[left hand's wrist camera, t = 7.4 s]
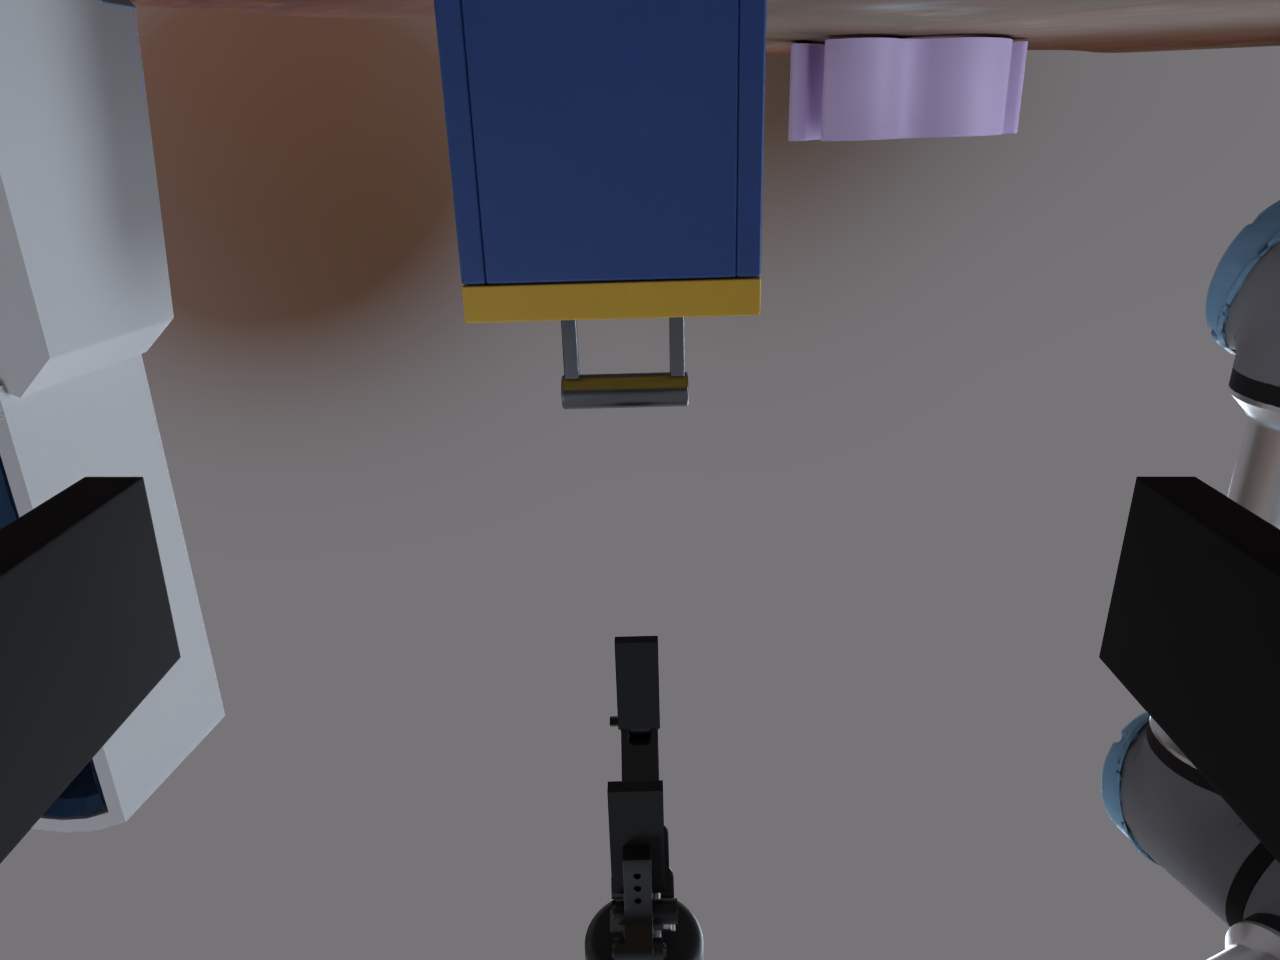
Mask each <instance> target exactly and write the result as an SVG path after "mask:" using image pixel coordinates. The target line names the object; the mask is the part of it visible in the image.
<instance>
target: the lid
mask: <svg viewBox="0 0 1280 960" xmlns="http://www.w3.org/2000/svg"><path fill="white" fill-rule="evenodd" d="M462 293H463V303H464V313H465V322H466V323H483V322H519V321H557V320H561V328H562V344H563V361H564V375H563V376H562V380H561V395H562V405H563V408H564V409H591V408H630V407H667V406H688V399H689V393H688V392H689V391H688V374H687V372H685V344H684V317H702V316H740V315H760V304H761V279H760V277H759V276H754V277H738V276H737V275H736V276H735V277H720V278H684V279H648V280H612V281H576V282H540V283H504V284H488V283H487V282H486V283H485V284H466V285H464V286H463V287H462ZM666 317H669V346H670V372H660V373H623V374H587V375H580V370H579V351H578V332H577V320H592V319H629V318H666Z"/></svg>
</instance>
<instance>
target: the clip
mask: <svg viewBox="0 0 1280 960" xmlns="http://www.w3.org/2000/svg"><path fill="white" fill-rule="evenodd" d="M1012 41H1013V40H1012V39H1009V38H996V37H962V38H934V39H899V38H844V39H828V40H825V46H818V45H810V43H799V44H792V45H791V73H790V105H789V138H788V141H806V140H818V139H821V141H852V140H879V139H896V138H923V137H959V136H984V135H1000V134H1002V133H1017V131H1018V122H1019V114H1020V105H1021V97H1022V88H1023V79H1024V71H1025V62H1026V53H1027V45H1028V42H1027V41H1022V42H1012Z"/></svg>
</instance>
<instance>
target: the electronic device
mask: <svg viewBox="0 0 1280 960" xmlns="http://www.w3.org/2000/svg"><path fill="white" fill-rule="evenodd" d="M173 318H174V316H173V308H172V300H171V292H170V283H169V275H168V267H167V259H166V251H165V243H164V235H163V227H162V219H161V211H160V202H159V194H158V186H157V178H156V170H155V162H154V154H153V146H152V138H151V130H150V122H149V113H148V105H147V98H146V89H145V81H144V73H143V65H142V57H141V49H140V41H139V33H138V24H137V16H136V9H135V6H134V5H133V4H132V3H131V2H130V1H129V0H0V529H2V528H3V527H5V526H7V525H8V524H10V523H11V522H13V521H15V520H16V519H18V518H20V517H21V516H23V515H24V514H26V513H28V512H29V511H31V510H32V509H34V508H36V507H37V506H39V505H40V504H42V503H44V502H45V501H47V500H49V499H50V498H52V497H53V496H55V495H57V494H58V493H60V492H61V491H63V490H65V489H66V488H68V487H69V486H71V485H73V484H74V483H76V482H78V481H79V480H81V479H82V478H84V477H143V478H144V483H145V488H146V493H147V498H148V502H149V507H150V512H151V517H152V522H153V526H154V531H155V536H156V541H157V546H158V550H159V555H160V560H161V565H162V570H163V574H164V579H165V584H166V589H167V593H168V598H169V603H170V608H171V613H172V617H173V622H174V627H175V632H176V637H177V641H178V646H179V651H180V656H181V658H180V659H179V660H178V661H177V662H176V663H175V664H174V666H173V667H172V668H171V669H170V670H169V671H168V672H167V674H166V675H165V676H164V677H163V678H162V679H161V680H160V682H159V683H158V684H157V685H156V686H155V687H154V688H153V690H152V691H151V692H150V693H149V694H148V695H147V696H146V698H145V699H144V700H143V701H142V702H141V703H140V704H139V706H138V707H137V708H136V709H135V710H134V711H133V712H132V714H131V715H130V716H129V717H128V718H127V719H126V720H125V722H124V723H123V724H122V725H121V726H120V727H119V728H118V730H117V731H116V732H115V733H114V734H113V735H112V736H111V738H110V739H109V740H108V741H107V742H106V743H105V744H104V746H103V747H102V748H101V749H100V750H99V751H98V752H97V754H96V755H95V756H94V757H93V758H92V759H91V760H90V762H89V763H88V764H87V765H86V766H85V767H84V768H83V770H82V771H81V772H80V773H79V774H78V775H77V776H76V778H75V779H74V780H73V781H72V782H71V783H70V784H69V786H68V787H67V788H66V789H65V790H64V791H63V792H62V794H61V795H60V796H59V797H58V798H57V799H56V800H55V802H54V803H53V804H52V805H51V806H50V807H49V808H48V810H47V811H46V812H45V813H44V814H43V815H42V816H41V818H40V819H39V820H38V821H37V822H36V823H35V824H34V826H33V827H32V829H36V830H47V831H58V832H83V831H96V830H100V829H103V828H107V827H110V826H114V825H117V824H121V823H124V822H126V821H127V820H128V819H129V818H130V817H131V816H132V815H133V814H134V813H135V812H136V810H137V809H138V808H139V807H140V806H141V805H142V804H143V803H144V802H145V801H146V800H147V799H148V798H149V797H150V795H151V794H152V793H153V792H154V791H155V790H156V789H157V788H158V787H159V786H160V785H161V784H162V783H163V782H164V780H165V779H166V778H167V777H168V776H169V775H170V774H171V773H172V772H173V771H174V770H175V769H176V768H177V767H178V766H179V764H180V763H181V762H182V761H183V760H184V759H185V758H186V757H187V756H188V755H189V754H190V753H191V752H192V751H193V749H194V748H195V747H196V746H197V745H198V744H199V743H200V742H201V741H202V740H203V739H204V738H205V737H206V736H207V735H208V733H209V732H210V731H211V730H212V729H213V728H214V727H215V726H216V725H217V724H218V723H219V722H220V721H221V719H222V718H223V717H224V716H225V712H224V708H223V704H222V699H221V695H220V691H219V686H218V682H217V678H216V674H215V669H214V665H213V661H212V656H211V652H210V648H209V643H208V639H207V635H206V631H205V626H204V622H203V618H202V613H201V609H200V605H199V601H198V596H197V592H196V588H195V583H194V579H193V575H192V571H191V566H190V562H189V558H188V553H187V549H186V545H185V540H184V536H183V532H182V527H181V523H180V519H179V515H178V510H177V506H176V502H175V497H174V493H173V489H172V484H171V480H170V476H169V472H168V467H167V463H166V459H165V454H164V450H163V446H162V441H161V437H160V433H159V429H158V424H157V420H156V416H155V411H154V407H153V403H152V398H151V394H150V390H149V386H148V381H147V377H146V373H145V368H144V364H143V360H142V356H141V353H144V352H147V350H148V349H149V348H150V347H151V345H152V344H153V343H154V342H155V340H156V339H157V338H158V337H159V335H160V334H161V333H162V332H163V330H164V329H165V328H166V327H167V325H168V324H169V323H170V322H171V320H172V319H173Z"/></svg>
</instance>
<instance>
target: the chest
mask: <svg viewBox="0 0 1280 960" xmlns="http://www.w3.org/2000/svg"><path fill="white" fill-rule="evenodd" d="M434 6H435V17H436V27H437V37H438V47H439V57H440V67H441V77H442V87H443V98H444V108H445V118H446V128H447V138H448V148H449V158H450V169H451V179H452V189H453V199H454V209H455V219H456V230H457V240H458V250H459V260H460V270H461V280H462V283H463V284H465V285H466V284H485V283H486V282H487V283H488V284H504V283H540V282H576V281H612V280H648V279H684V278H720V277H735V276H736V275H737V276H738V277H754V276H760V274H761V248H762V202H763V201H762V200H763V154H764V106H765V60H766V13H767V0H434Z"/></svg>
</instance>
